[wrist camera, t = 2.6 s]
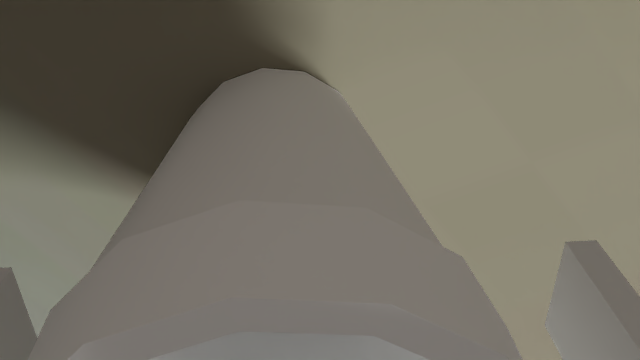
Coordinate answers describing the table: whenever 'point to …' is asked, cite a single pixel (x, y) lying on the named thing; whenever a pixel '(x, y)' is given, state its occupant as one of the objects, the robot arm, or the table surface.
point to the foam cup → (275, 248)
